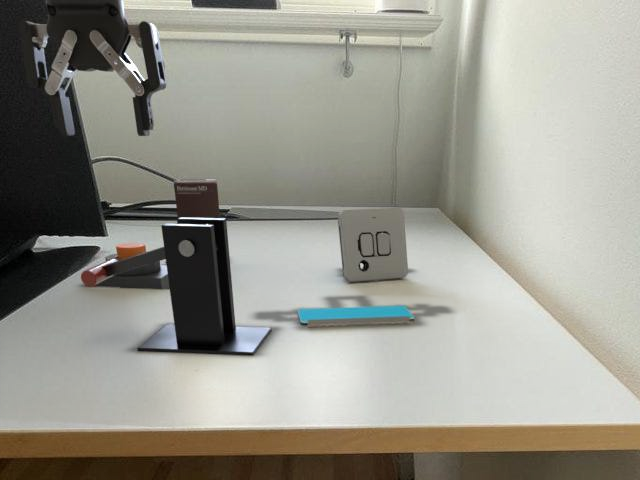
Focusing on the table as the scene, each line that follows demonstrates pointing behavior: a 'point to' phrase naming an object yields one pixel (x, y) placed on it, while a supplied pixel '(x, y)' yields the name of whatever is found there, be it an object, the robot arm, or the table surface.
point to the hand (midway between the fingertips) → (105, 135)
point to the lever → (122, 266)
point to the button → (129, 250)
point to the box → (196, 198)
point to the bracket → (201, 293)
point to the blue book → (355, 316)
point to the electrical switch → (373, 244)
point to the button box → (139, 277)
